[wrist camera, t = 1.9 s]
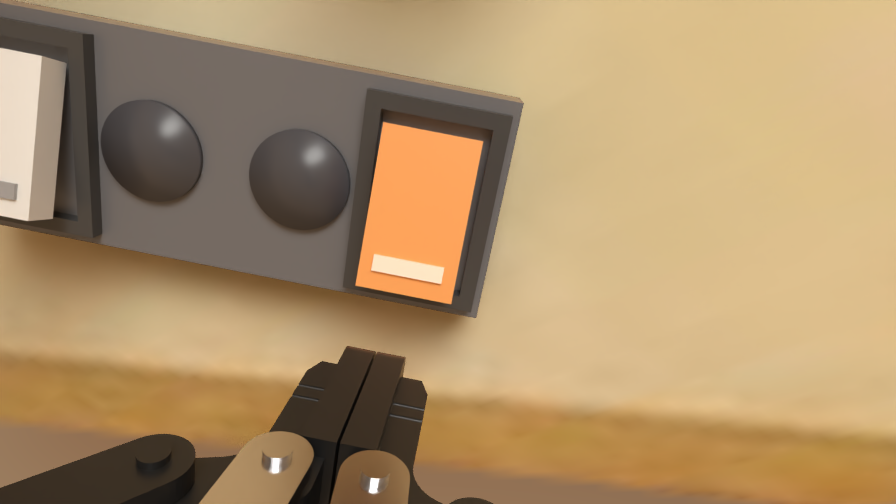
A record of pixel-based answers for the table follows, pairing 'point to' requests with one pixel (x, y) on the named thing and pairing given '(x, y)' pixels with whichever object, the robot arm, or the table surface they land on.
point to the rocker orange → (418, 212)
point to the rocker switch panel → (243, 150)
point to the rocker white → (29, 133)
